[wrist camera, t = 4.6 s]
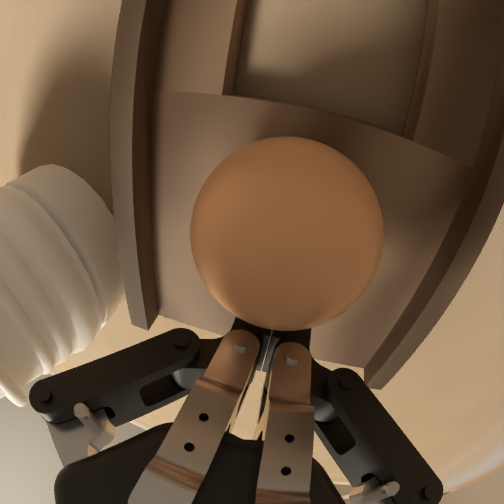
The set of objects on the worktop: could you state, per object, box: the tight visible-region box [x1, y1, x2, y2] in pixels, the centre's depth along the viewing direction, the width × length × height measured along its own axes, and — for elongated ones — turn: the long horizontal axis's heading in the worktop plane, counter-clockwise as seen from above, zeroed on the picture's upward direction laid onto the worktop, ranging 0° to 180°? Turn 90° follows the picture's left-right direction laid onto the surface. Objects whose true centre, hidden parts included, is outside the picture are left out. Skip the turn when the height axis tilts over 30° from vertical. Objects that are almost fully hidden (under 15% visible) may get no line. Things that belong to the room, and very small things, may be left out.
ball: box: [190, 136, 384, 331], centre depth 9 cm, size 6×6×6 cm
